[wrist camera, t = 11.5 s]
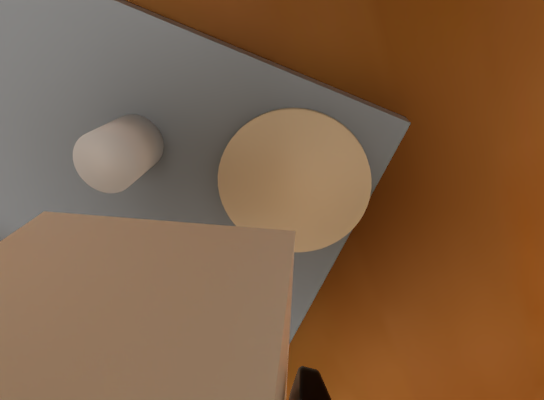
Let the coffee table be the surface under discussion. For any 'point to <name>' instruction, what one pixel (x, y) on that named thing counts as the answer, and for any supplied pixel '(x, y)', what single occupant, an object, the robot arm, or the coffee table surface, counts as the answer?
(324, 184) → the board
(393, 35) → the coffee table surface
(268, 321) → the beige cube
